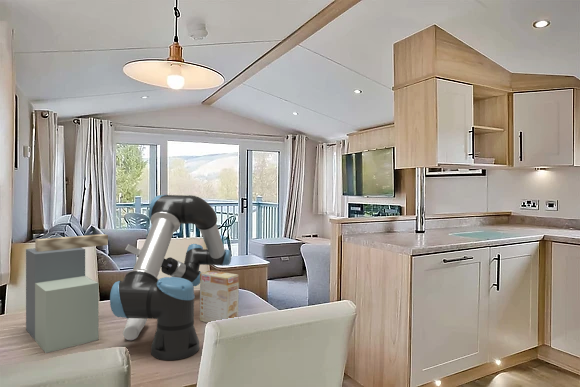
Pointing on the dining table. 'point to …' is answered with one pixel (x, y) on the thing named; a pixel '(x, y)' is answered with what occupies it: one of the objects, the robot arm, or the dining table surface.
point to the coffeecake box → (218, 295)
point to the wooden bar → (70, 242)
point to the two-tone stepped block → (60, 299)
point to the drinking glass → (133, 328)
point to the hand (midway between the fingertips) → (133, 248)
